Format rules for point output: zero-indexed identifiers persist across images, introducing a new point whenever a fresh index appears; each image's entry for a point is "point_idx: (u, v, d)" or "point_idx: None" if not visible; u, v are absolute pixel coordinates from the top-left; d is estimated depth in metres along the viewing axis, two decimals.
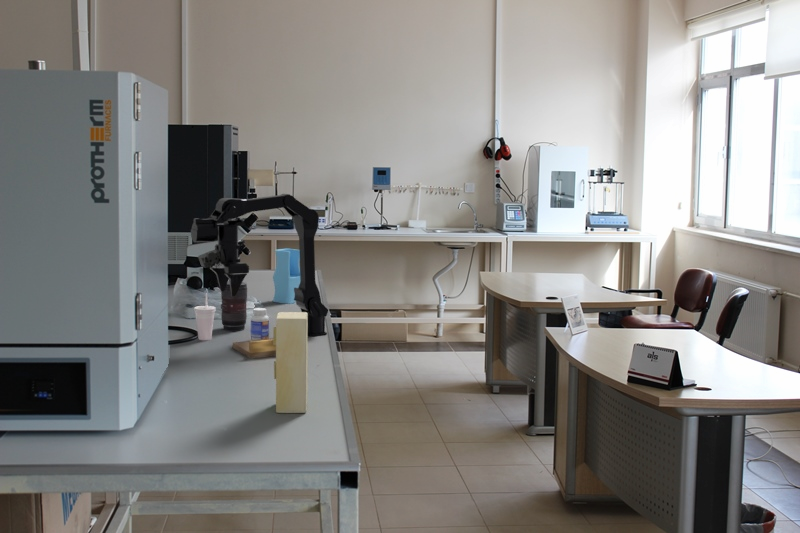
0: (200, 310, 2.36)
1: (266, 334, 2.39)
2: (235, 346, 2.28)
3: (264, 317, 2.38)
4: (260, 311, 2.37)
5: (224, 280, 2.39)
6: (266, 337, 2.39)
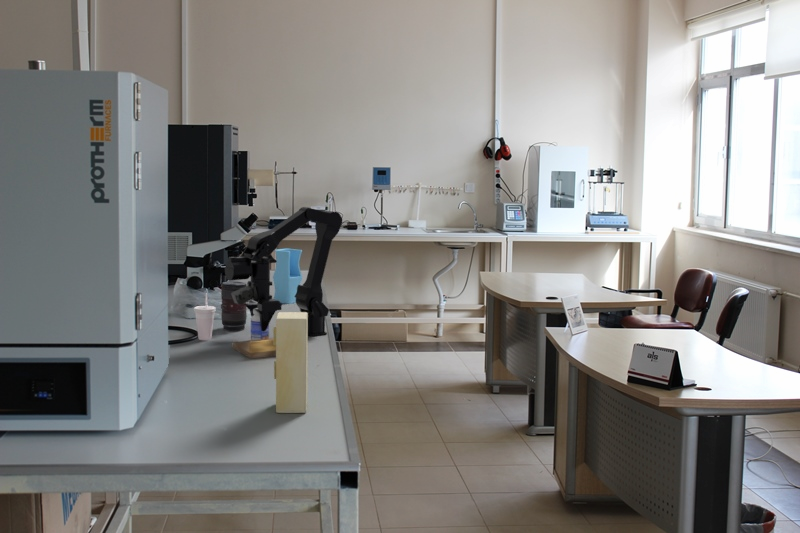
0: (200, 310, 2.36)
1: (266, 334, 2.39)
2: (235, 346, 2.28)
3: None
4: None
5: None
6: (266, 337, 2.39)
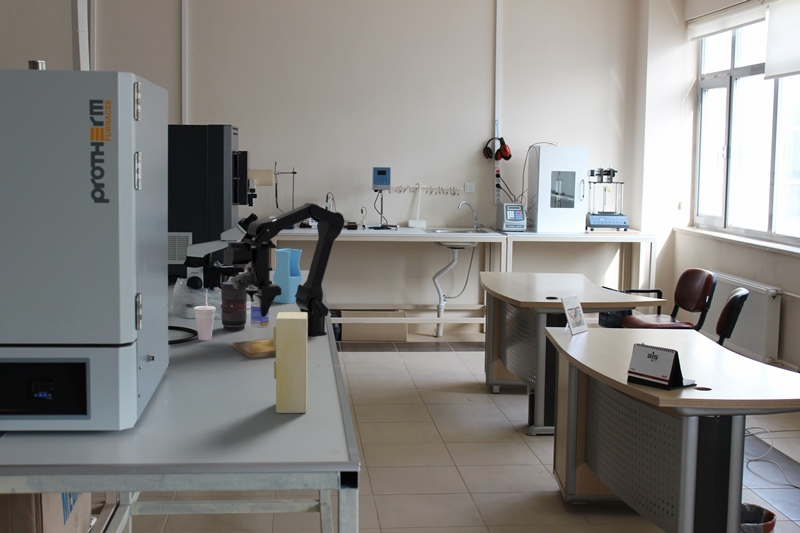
0: (200, 310, 2.36)
1: (266, 320, 2.38)
2: (235, 346, 2.28)
3: None
4: None
5: None
6: (266, 323, 2.38)
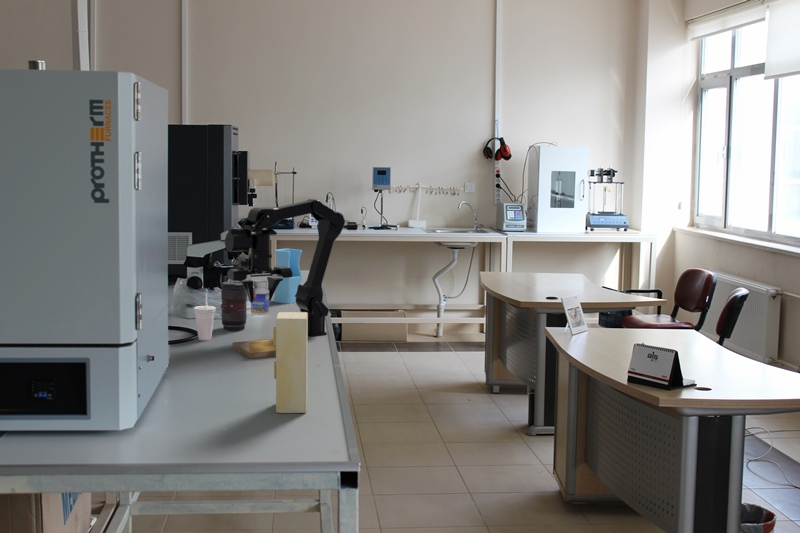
0: (200, 310, 2.36)
1: (253, 307, 2.37)
2: (235, 346, 2.28)
3: (254, 289, 2.37)
4: None
5: (270, 290, 2.39)
6: (253, 310, 2.37)
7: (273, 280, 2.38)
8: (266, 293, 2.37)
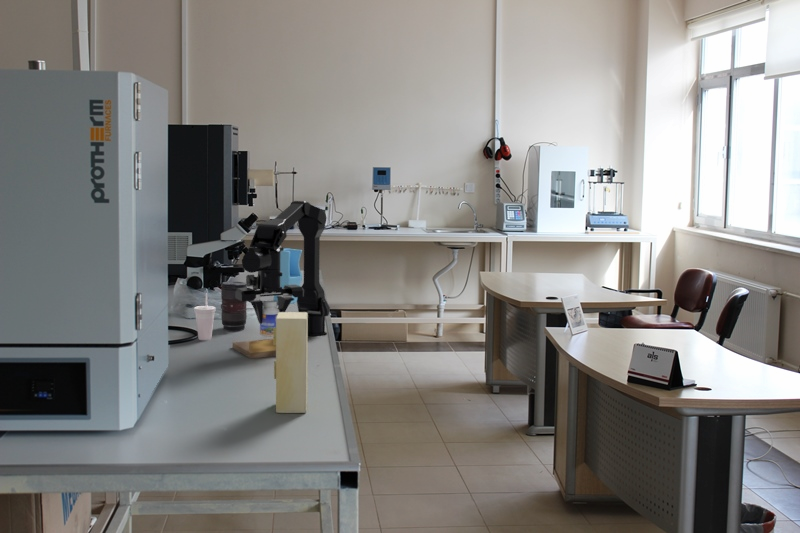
0: (200, 310, 2.36)
1: (263, 328, 2.24)
2: (235, 346, 2.28)
3: (263, 309, 2.24)
4: (263, 302, 2.24)
5: (280, 310, 2.26)
6: (263, 331, 2.24)
7: (283, 300, 2.25)
8: (276, 314, 2.24)
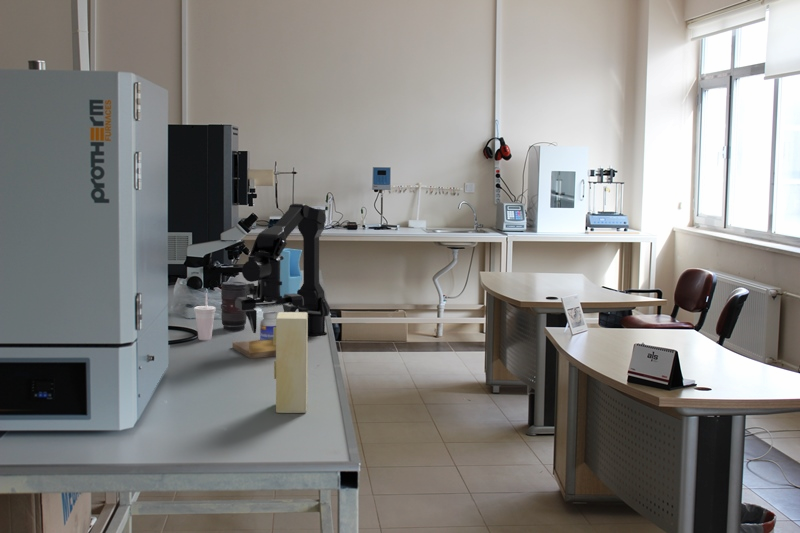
0: (200, 310, 2.36)
1: (263, 339, 2.24)
2: (235, 346, 2.28)
3: (263, 321, 2.24)
4: (263, 313, 2.25)
5: None
6: None
7: (289, 308, 2.26)
8: None
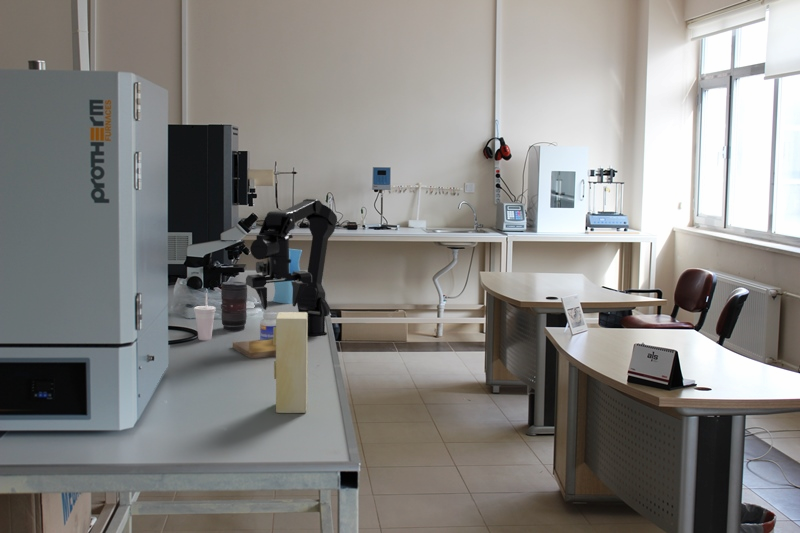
0: (200, 310, 2.36)
1: (263, 339, 2.24)
2: (235, 346, 2.28)
3: (263, 321, 2.24)
4: (263, 313, 2.25)
5: (294, 295, 2.34)
6: None
7: (298, 285, 2.33)
8: None
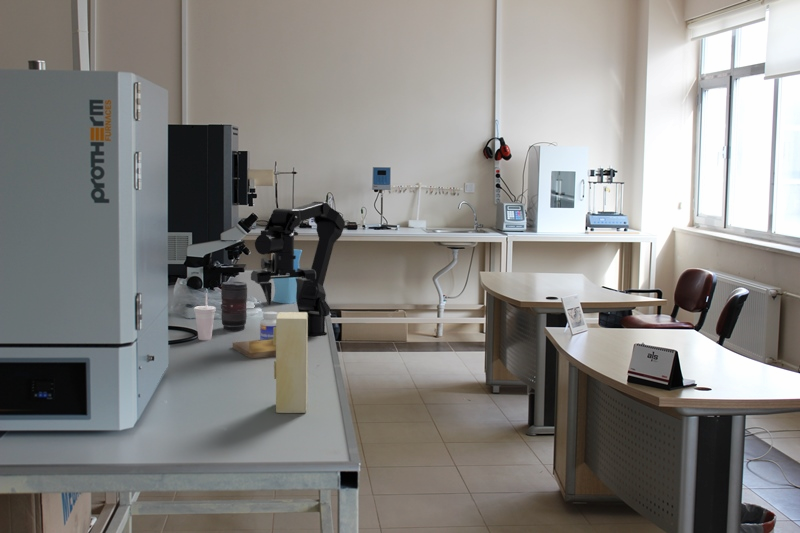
0: (200, 310, 2.36)
1: (263, 339, 2.24)
2: (235, 346, 2.28)
3: (264, 321, 2.24)
4: (263, 313, 2.25)
5: (298, 292, 2.38)
6: None
7: (302, 281, 2.37)
8: None
